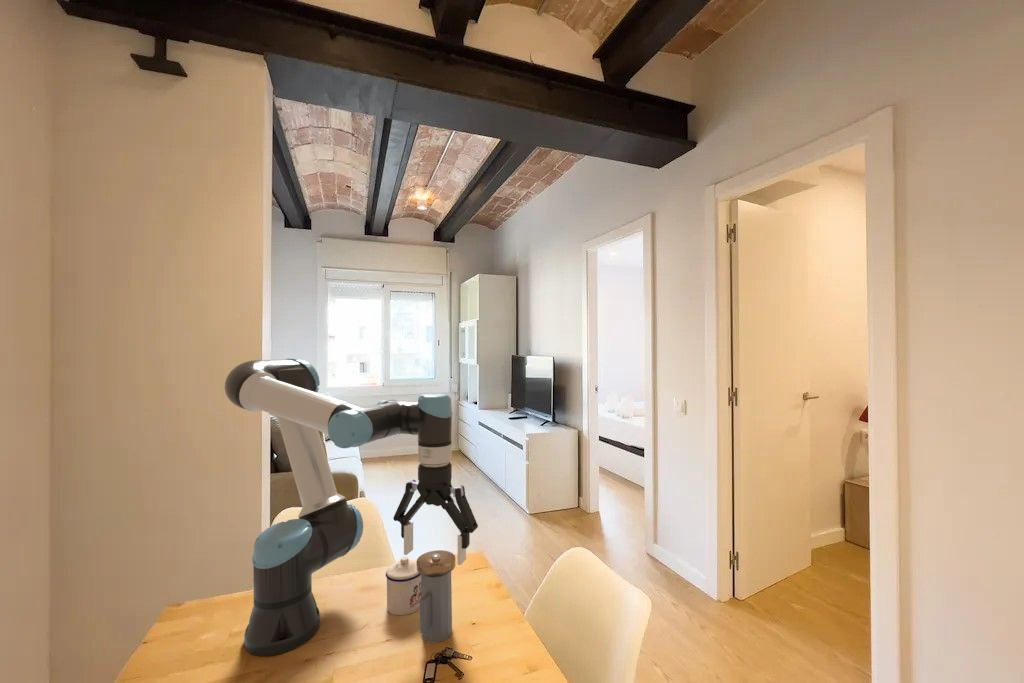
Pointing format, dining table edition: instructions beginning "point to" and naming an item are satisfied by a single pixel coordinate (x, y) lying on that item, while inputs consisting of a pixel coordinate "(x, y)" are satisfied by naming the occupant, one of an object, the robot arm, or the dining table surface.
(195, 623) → the dining table surface
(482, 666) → the dining table surface
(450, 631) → the cylinder
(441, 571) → the plunger
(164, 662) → the dining table surface
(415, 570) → the teacup with lid
